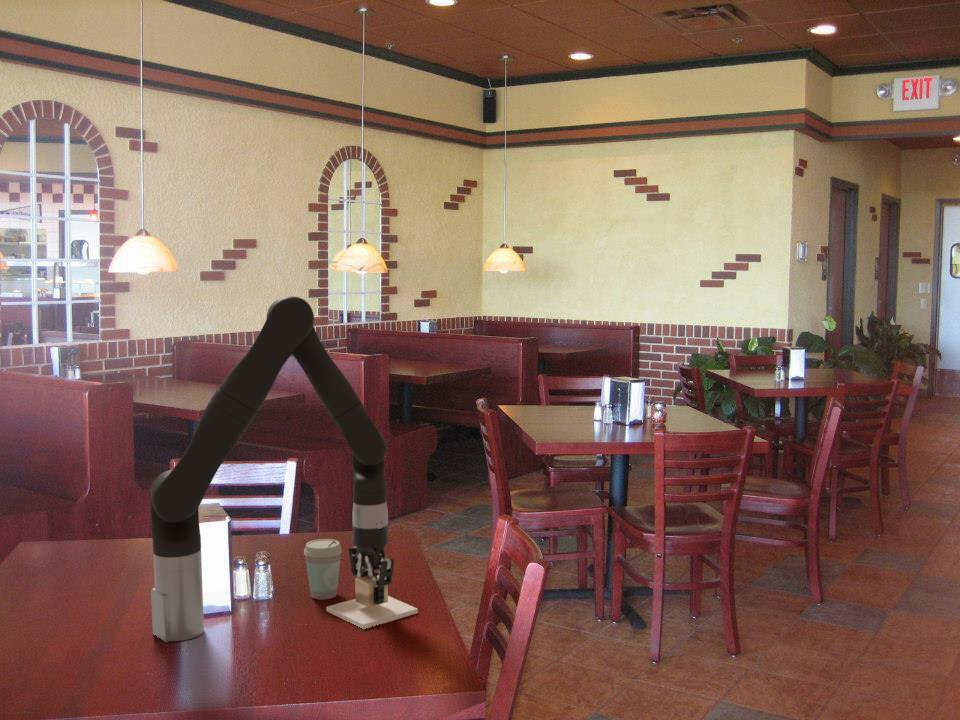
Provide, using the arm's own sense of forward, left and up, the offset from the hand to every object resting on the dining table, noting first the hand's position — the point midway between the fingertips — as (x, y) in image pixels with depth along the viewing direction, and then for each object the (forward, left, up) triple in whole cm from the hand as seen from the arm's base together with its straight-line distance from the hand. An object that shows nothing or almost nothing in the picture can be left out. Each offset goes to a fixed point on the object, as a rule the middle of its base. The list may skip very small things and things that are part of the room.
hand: (371, 599), depth 211 cm
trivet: (0, 0, -3) cm, 3 cm away
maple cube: (0, 0, 0) cm, 0 cm away
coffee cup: (-2, +16, -3) cm, 16 cm away
